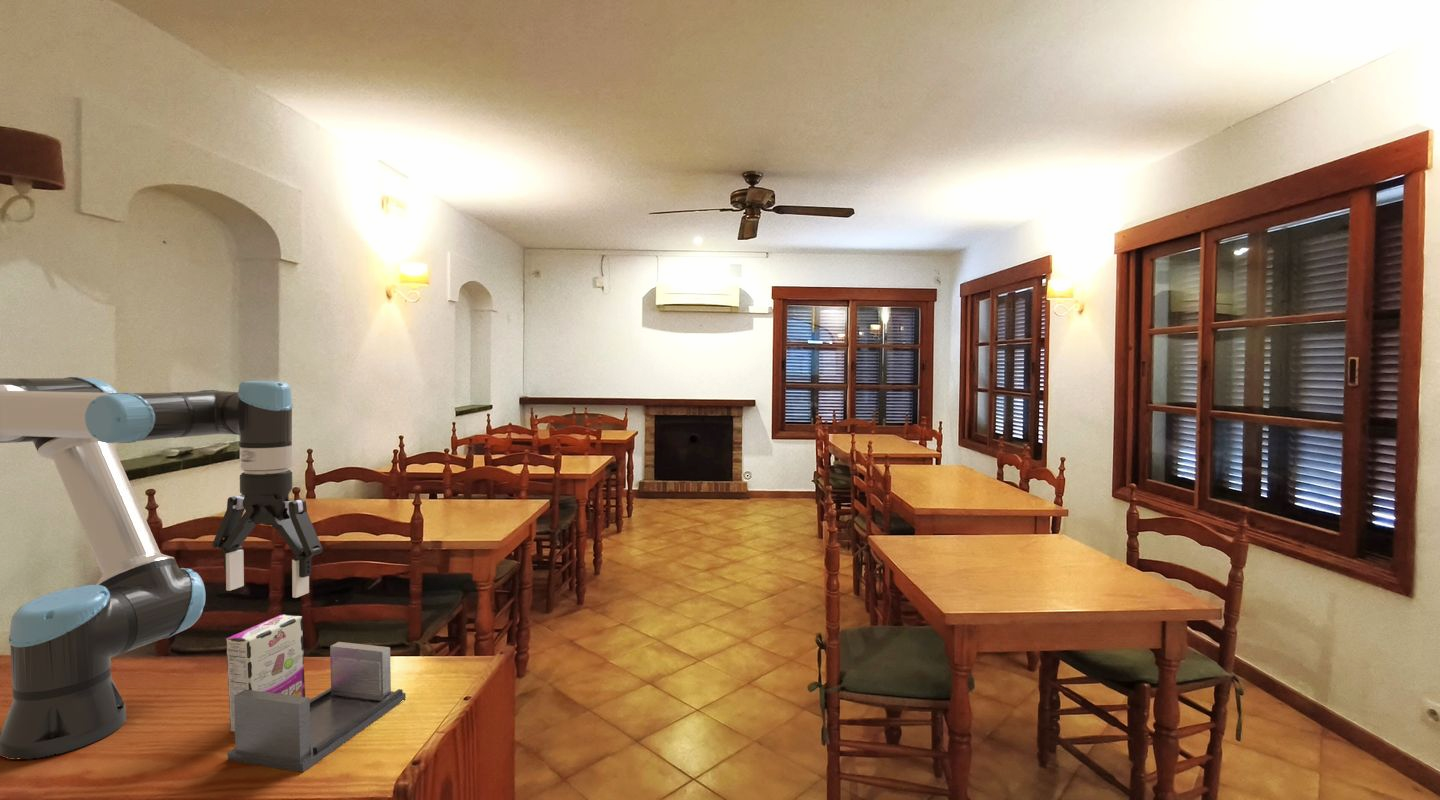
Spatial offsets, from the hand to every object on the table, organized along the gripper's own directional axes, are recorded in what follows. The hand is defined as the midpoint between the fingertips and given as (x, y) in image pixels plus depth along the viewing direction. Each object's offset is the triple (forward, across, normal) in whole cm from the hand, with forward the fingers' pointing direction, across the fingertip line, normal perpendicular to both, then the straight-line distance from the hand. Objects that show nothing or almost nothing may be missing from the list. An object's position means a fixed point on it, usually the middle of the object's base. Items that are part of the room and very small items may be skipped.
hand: (267, 591), depth 115 cm
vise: (+22, +12, -1) cm, 25 cm away
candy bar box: (+23, 0, 0) cm, 23 cm away
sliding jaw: (+21, +12, +11) cm, 26 cm away
